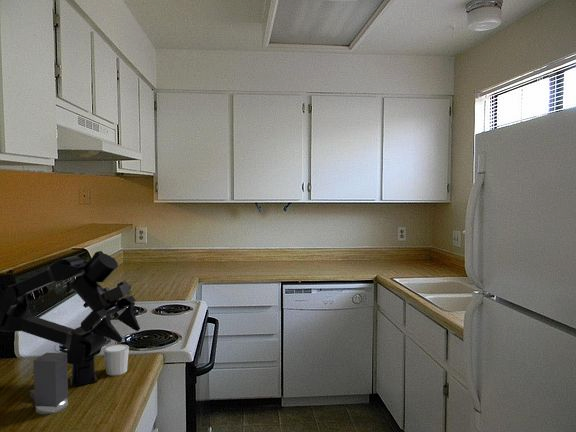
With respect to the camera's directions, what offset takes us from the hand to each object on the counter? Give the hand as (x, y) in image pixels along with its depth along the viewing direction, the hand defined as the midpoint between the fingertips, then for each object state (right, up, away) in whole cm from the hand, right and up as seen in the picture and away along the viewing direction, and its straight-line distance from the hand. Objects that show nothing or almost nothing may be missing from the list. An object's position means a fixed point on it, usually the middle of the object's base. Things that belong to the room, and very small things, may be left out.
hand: (130, 335), depth 118 cm
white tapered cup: (-7, -13, +9) cm, 18 cm away
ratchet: (-17, -14, -10) cm, 24 cm away
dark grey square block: (-15, -13, -12) cm, 23 cm away
